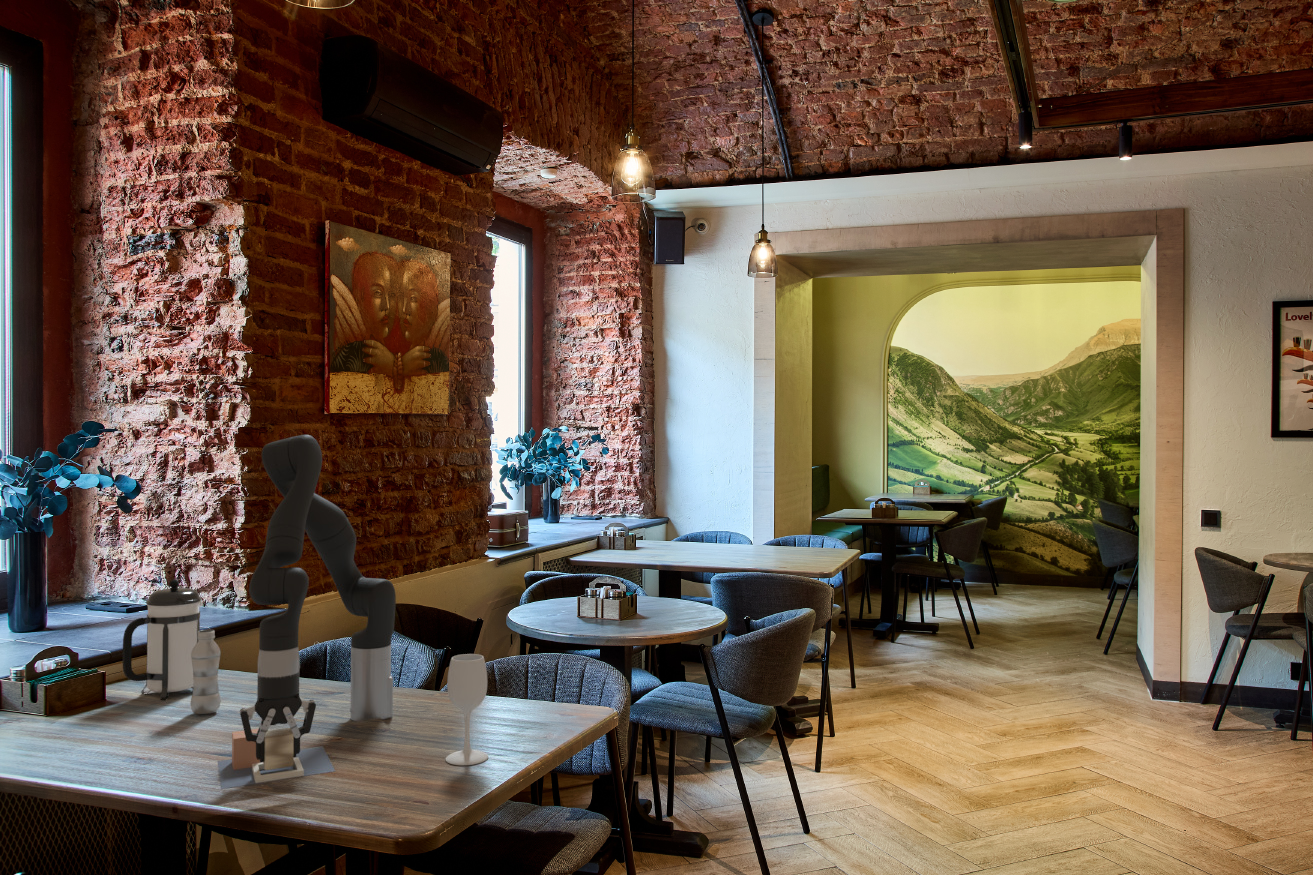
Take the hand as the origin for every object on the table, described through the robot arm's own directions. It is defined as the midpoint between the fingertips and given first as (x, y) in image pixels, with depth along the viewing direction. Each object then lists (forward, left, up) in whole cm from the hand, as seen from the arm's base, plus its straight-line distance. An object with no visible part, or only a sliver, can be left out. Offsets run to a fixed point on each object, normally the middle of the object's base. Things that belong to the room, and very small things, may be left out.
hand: (277, 758), depth 175 cm
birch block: (0, 0, -1) cm, 1 cm away
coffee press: (+19, -81, -4) cm, 83 cm away
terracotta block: (+5, -8, -3) cm, 10 cm away
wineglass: (-36, +5, -4) cm, 37 cm away
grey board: (0, -4, -4) cm, 6 cm away
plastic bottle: (+11, -57, -4) cm, 58 cm away
